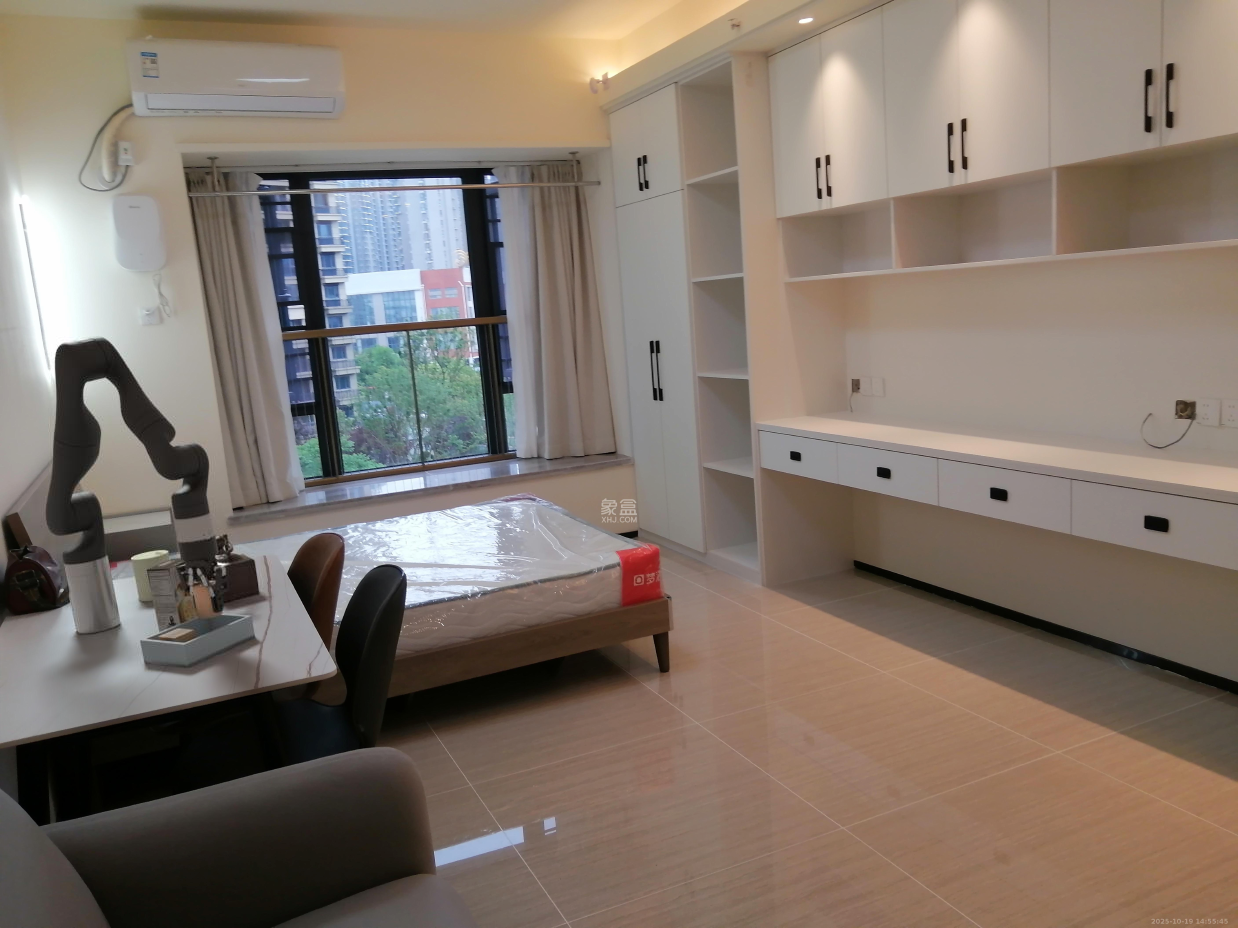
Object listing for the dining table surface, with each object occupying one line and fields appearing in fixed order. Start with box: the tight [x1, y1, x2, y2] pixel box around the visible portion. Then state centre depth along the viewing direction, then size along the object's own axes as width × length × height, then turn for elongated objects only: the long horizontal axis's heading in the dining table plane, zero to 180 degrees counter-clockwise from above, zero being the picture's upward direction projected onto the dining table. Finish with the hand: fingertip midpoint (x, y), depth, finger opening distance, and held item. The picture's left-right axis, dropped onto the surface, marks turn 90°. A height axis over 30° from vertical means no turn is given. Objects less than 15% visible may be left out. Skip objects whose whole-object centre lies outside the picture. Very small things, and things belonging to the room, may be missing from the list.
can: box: [130, 549, 170, 602], centre depth 250 cm, size 9×9×12 cm
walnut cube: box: [158, 628, 196, 643], centre depth 197 cm, size 5×5×5 cm
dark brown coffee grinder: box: [211, 533, 260, 604], centre depth 239 cm, size 16×11×18 cm
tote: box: [139, 612, 256, 668], centre depth 201 cm, size 14×18×5 cm
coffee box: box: [147, 557, 198, 633], centre depth 217 cm, size 9×6×16 cm
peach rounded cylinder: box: [192, 581, 224, 619], centre depth 203 cm, size 5×5×7 cm
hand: (210, 610), depth 204 cm, fingers closed on peach rounded cylinder, 5 cm apart
